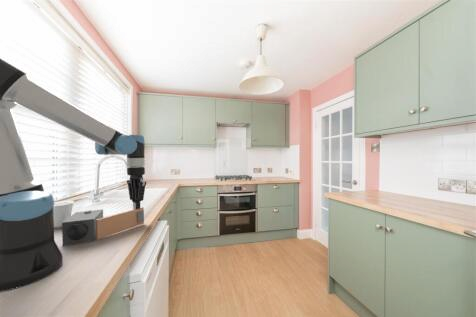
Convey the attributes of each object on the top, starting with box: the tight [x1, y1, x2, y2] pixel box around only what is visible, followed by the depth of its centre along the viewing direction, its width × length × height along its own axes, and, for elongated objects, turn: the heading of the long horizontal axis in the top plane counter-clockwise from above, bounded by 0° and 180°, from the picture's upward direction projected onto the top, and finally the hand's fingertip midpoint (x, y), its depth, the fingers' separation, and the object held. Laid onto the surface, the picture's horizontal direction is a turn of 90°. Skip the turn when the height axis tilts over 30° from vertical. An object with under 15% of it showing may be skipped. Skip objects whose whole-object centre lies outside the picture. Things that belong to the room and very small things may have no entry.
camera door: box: [96, 206, 145, 240], centre depth 84 cm, size 20×2×8 cm, turn 150°
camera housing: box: [61, 209, 104, 247], centre depth 79 cm, size 16×10×10 cm, turn 24°
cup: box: [53, 200, 75, 229], centre depth 92 cm, size 10×10×11 cm
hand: (136, 214), depth 91 cm, fingers closed
